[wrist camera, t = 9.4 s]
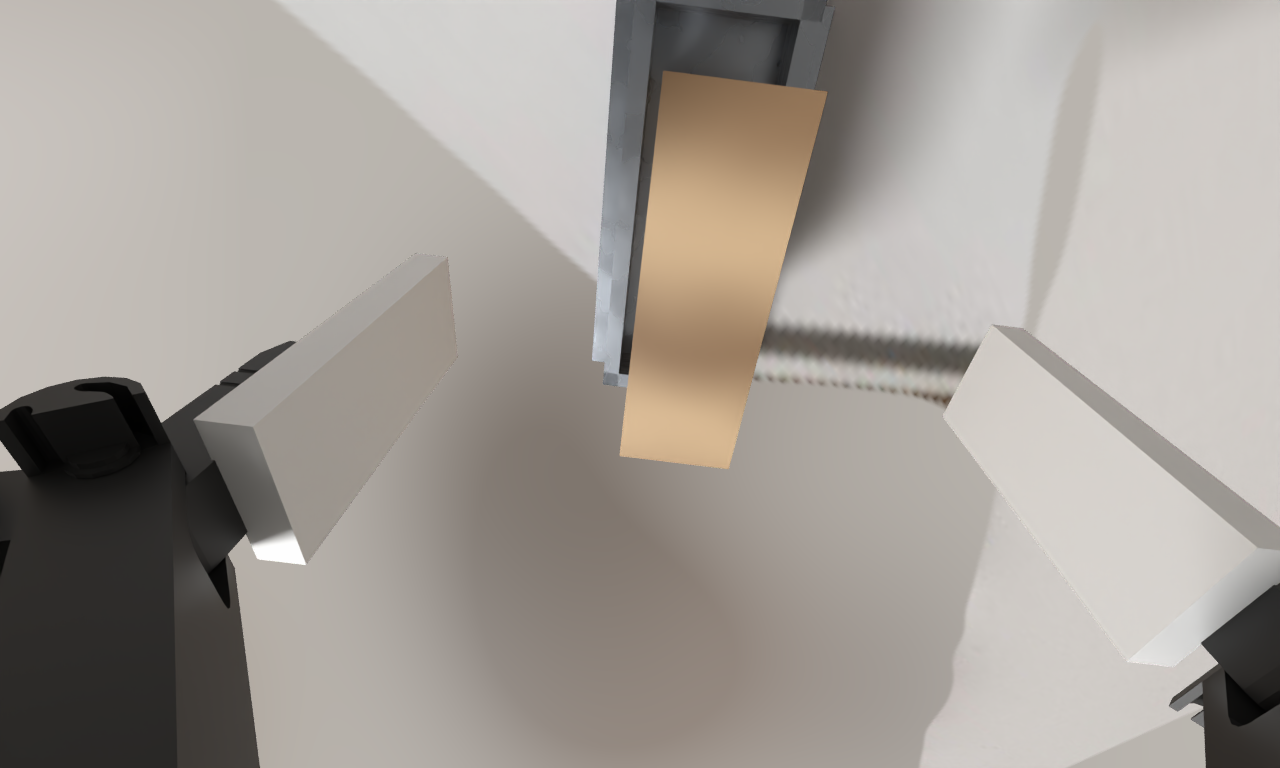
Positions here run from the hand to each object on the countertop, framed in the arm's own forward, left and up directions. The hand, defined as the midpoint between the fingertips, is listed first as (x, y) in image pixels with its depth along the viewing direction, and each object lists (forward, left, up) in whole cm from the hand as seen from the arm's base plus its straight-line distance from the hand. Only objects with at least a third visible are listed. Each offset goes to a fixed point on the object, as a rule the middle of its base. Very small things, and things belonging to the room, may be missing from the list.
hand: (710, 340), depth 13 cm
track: (0, 0, -15) cm, 15 cm away
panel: (0, 0, -15) cm, 15 cm away
